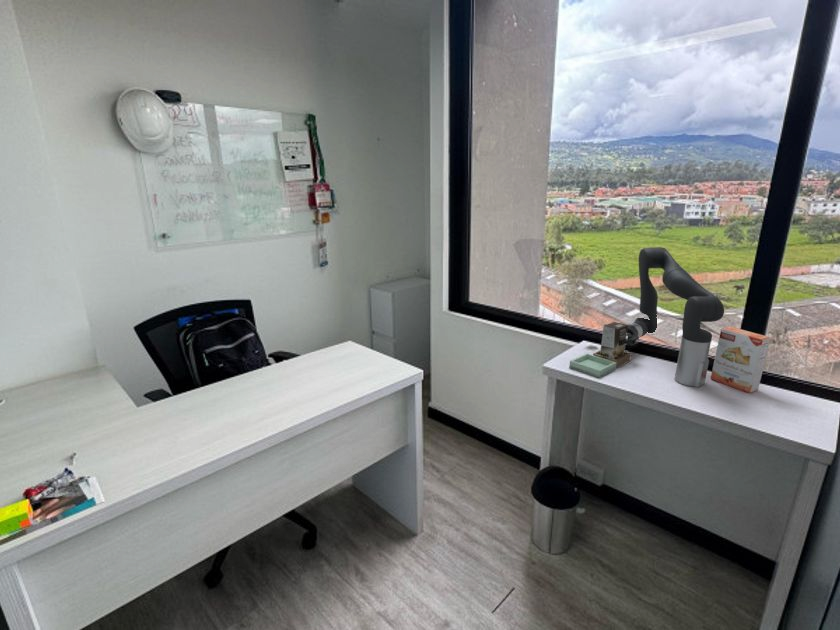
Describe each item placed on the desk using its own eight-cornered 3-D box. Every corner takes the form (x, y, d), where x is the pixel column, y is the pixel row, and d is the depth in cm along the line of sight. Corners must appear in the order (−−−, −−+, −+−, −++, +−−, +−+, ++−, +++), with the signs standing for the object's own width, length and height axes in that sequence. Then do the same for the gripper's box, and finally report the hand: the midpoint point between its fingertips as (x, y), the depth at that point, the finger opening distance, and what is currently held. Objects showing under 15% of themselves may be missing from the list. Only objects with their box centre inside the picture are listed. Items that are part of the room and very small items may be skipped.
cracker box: (709, 379, 170) (720, 327, 164) (718, 376, 173) (729, 325, 167) (749, 394, 158) (762, 339, 152) (758, 390, 161) (771, 336, 155)
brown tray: (629, 360, 188) (631, 353, 187) (615, 368, 180) (616, 360, 179) (607, 354, 195) (608, 346, 194) (592, 361, 187) (593, 353, 186)
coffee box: (613, 366, 182) (618, 329, 177) (598, 361, 187) (603, 325, 182) (623, 360, 188) (628, 324, 183) (609, 356, 192) (613, 321, 188)
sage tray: (615, 369, 179) (616, 362, 178) (599, 377, 171) (600, 370, 170) (586, 359, 188) (586, 353, 188) (569, 367, 180) (569, 360, 179)
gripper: (615, 321, 198) (596, 328, 187) (648, 328, 187) (629, 337, 177) (613, 336, 200) (593, 345, 189) (645, 345, 189) (627, 354, 179)
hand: (611, 341), depth 183 cm, fingers closed on coffee box, 6 cm apart
